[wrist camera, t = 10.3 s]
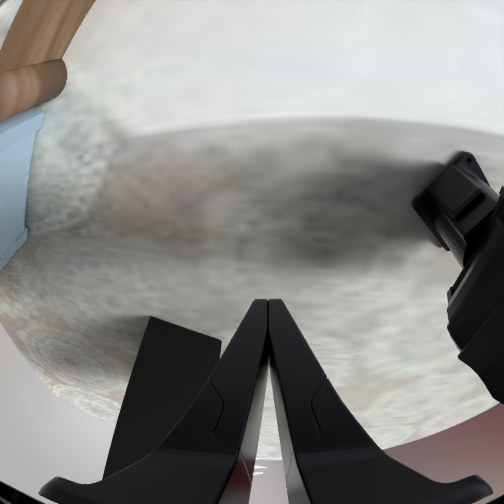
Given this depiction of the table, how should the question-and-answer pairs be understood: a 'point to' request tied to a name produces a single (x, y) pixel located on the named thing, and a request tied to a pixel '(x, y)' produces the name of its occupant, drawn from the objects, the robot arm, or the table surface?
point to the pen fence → (37, 53)
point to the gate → (15, 177)
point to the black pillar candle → (160, 390)
